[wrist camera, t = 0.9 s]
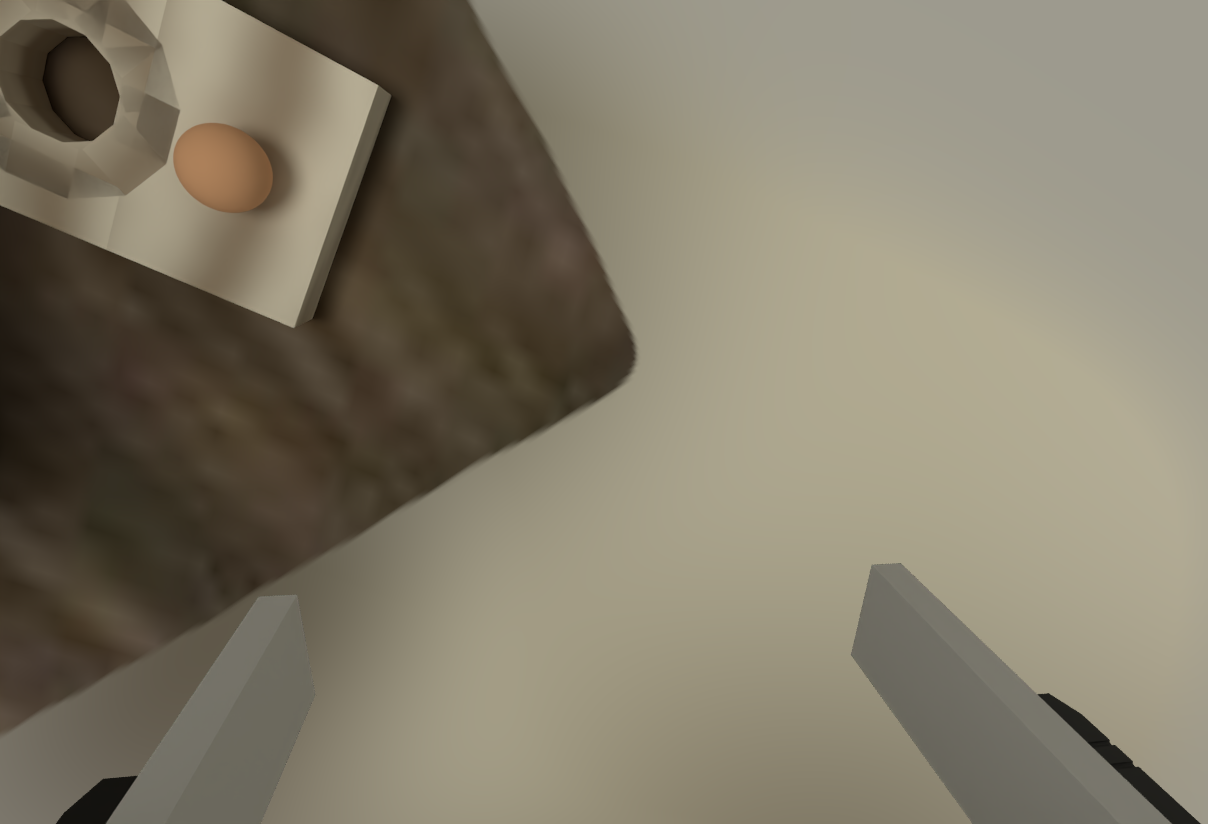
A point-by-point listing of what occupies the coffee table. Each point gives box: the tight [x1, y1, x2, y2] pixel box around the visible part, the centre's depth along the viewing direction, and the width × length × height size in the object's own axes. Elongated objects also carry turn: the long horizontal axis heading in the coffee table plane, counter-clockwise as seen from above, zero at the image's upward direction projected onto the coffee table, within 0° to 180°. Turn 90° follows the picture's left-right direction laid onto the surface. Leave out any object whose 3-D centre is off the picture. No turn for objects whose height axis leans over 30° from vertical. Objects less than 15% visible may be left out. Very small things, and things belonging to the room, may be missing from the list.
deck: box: [0, 0, 392, 328], centre depth 26 cm, size 16×12×2 cm
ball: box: [173, 123, 273, 213], centre depth 24 cm, size 4×4×4 cm
